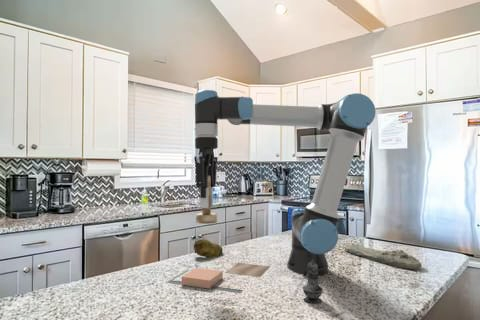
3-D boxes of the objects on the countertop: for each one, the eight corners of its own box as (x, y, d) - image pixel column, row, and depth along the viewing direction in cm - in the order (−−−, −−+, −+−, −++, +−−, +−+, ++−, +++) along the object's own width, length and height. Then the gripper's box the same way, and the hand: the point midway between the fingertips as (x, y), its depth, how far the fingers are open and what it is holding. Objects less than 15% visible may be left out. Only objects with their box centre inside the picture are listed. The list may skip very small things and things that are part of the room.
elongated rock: (354, 252, 159) (339, 256, 154) (353, 241, 160) (338, 244, 155) (428, 267, 130) (412, 273, 124) (426, 253, 130) (411, 258, 125)
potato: (225, 259, 141) (225, 240, 141) (194, 261, 138) (194, 241, 138) (221, 254, 149) (221, 236, 150) (192, 256, 146) (192, 237, 146)
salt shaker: (300, 297, 101) (300, 256, 102) (319, 296, 102) (319, 256, 102) (305, 305, 96) (305, 262, 96) (326, 304, 96) (325, 262, 96)
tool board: (270, 268, 128) (270, 266, 128) (260, 279, 116) (260, 276, 116) (238, 265, 133) (238, 262, 133) (225, 275, 121) (225, 272, 121)
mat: (254, 280, 115) (254, 278, 115) (240, 295, 102) (240, 293, 102) (187, 272, 124) (187, 270, 124) (166, 284, 111) (166, 282, 111)
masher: (220, 220, 116) (220, 175, 116) (211, 224, 109) (211, 176, 109) (201, 219, 118) (201, 175, 118) (192, 222, 112) (192, 175, 112)
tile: (222, 271, 115) (209, 280, 105) (222, 279, 115) (209, 289, 105) (196, 267, 118) (181, 276, 109) (196, 275, 118) (181, 285, 109)
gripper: (206, 139, 123) (206, 204, 122) (184, 135, 108) (185, 209, 108) (225, 138, 120) (226, 204, 120) (206, 134, 105) (206, 210, 105)
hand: (206, 206), depth 114 cm, fingers closed on masher, 3 cm apart
